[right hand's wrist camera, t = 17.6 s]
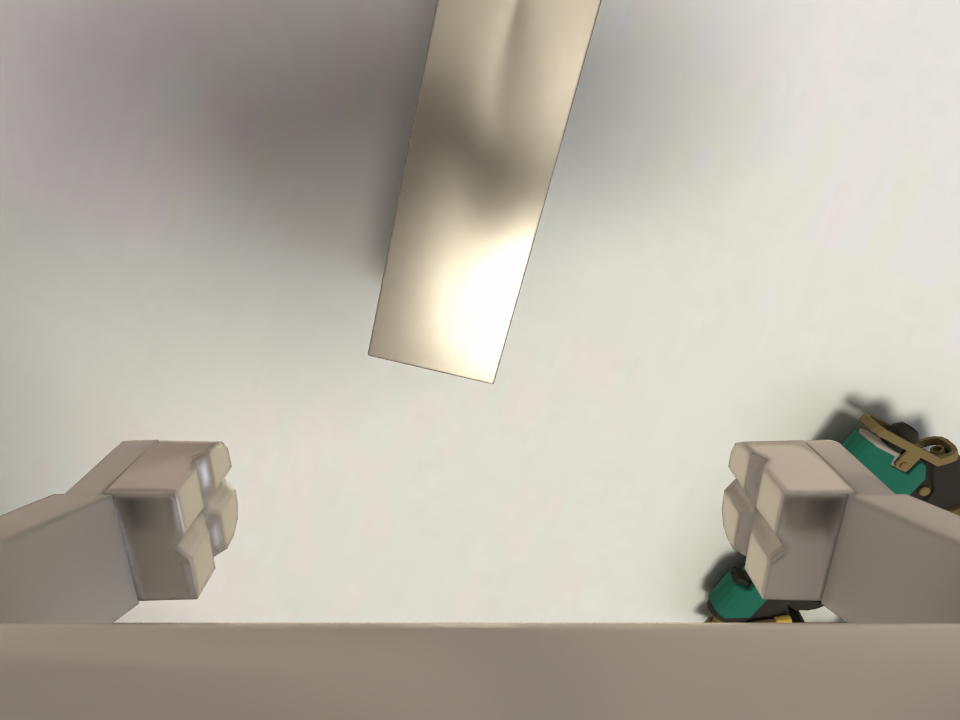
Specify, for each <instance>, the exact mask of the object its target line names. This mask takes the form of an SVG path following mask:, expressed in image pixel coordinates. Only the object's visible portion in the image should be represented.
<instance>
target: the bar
mask: <svg viewBox="0 0 960 720" xmlns="http://www.w3.org/2000/svg"><path fill="white" fill-rule="evenodd" d="M601 1H602V0H437V5H436V10H435V15H434V20H433V25H432V31H431V36H430V41H429V46H428V51H427V56H426V61H425V66H424V71H423V76H422V81H421V86H420V91H419V97H418V102H417V107H416V112H415V117H414V122H413V127H412V132H411V137H410V142H409V147H408V152H407V158H406V163H405V168H404V173H403V178H402V183H401V188H400V193H399V198H398V203H397V208H396V213H395V219H394V224H393V229H392V234H391V239H390V244H389V249H388V254H387V259H386V264H385V269H384V274H383V279H382V285H381V290H380V295H379V300H378V305H377V310H376V315H375V320H374V325H373V330H372V335H371V340H370V346H369V351H368V355H369V356H373V357H378V358H382V359H386V360H391V361H395V362H399V363H404V364H408V365H412V366H417V367H421V368H425V369H430V370H434V371H438V372H443V373H447V374H451V375H456V376H460V377H464V378H469V379H473V380H477V381H482V382H486V383H490V384H493V383H494V381H495V377H496V374H497V370H498V367H499V363H500V360H501V356H502V353H503V349H504V345H505V342H506V338H507V335H508V331H509V328H510V324H511V321H512V317H513V313H514V310H515V306H516V303H517V299H518V296H519V292H520V289H521V285H522V281H523V278H524V274H525V271H526V267H527V264H528V260H529V257H530V253H531V249H532V246H533V242H534V239H535V235H536V232H537V228H538V225H539V221H540V217H541V214H542V210H543V207H544V203H545V200H546V196H547V193H548V189H549V185H550V182H551V178H552V175H553V171H554V168H555V164H556V161H557V157H558V153H559V150H560V146H561V143H562V139H563V136H564V132H565V129H566V125H567V121H568V118H569V114H570V111H571V107H572V104H573V100H574V97H575V93H576V89H577V86H578V82H579V79H580V75H581V72H582V68H583V65H584V61H585V57H586V54H587V50H588V47H589V43H590V40H591V36H592V33H593V29H594V25H595V22H596V18H597V15H598V11H599V8H600V4H601Z"/></svg>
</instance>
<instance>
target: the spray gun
mask: <svg viewBox="0 0 960 720" xmlns="http://www.w3.org/2000/svg"><path fill="white" fill-rule="evenodd" d="M860 421H861V422H862V423H863V424H864V425H865V426H866V427H867V428H868V429H869V430H871V431H872V432H874V433H875V434H876V435H875V434H873V433H871V432H869V431H867V430H865V429H859V430H857V429H854V430H853V431H852V433H851V434H850V435H849V436H848V437H847V438H846V439H845V441H844V442H843V443H842V444H841V445H842V446H843V447H844V448H845V449H846V450H848V451H849V452H850V453H851V454H852V455H853V456H854V457H855V458H856V459H857V460H859V461H860V462H861V463H862V464H863V465H864V466H865V467H866V468H867V469H868V470H870V471H871V472H872V473H873V474H874V475H875V476H876V477H877V478H878V479H879V480H880V481H882V482H883V483H884V484H885V485H886V486H887V487H888V488H889V489H890V490H891V491H893V492H894V493H895V494H907V495H909V496H912V497H914V498H917V499H919V500H922V501H924V502H927V503H929V504H932V505H934V506H936V507H939V508H941V509H944V510H946V511H949V512H951V513H954V514H956V515H959V516H960V455H959V454H958V450H957V448H956V446H955V445H954V444H953V443H951V442H950V441H949V440H948V439H946V438H943V437H937V436H933V437H927V438H924V439H921V440H919V438H918V432H917V431H916V430H915V429H914V428H912V427H911V426H909V425H907V424H906V423H904V422H900V423H895V424H892V425H890V424H888V423H886V422H884V421H882V420H880V419H878V418H876V417H874V416H872V415H870V414H868V413H865V414H864V415H863V416H862V417H861V418H860ZM877 435H878V436H877ZM930 445H936V446H933V447H931V448H930V451H931V452H928V451H926V450H924V449H922V448H923V447H926V446H930ZM940 445H941V446H940ZM942 446H943V447H942ZM709 597H710V600H709V601H708V607H709V609H710V611H711V613H712V615H713V617H709V618H708V619H707V620H706V621H705V622H704V623H805V622H804V620H803V618H802V616H801V614H800V612H799V610H812V609H816V608H820V607H822V606H824V605H823V604H821V601H812V600H775V599H762V597H761V595H760V593H759V592H758V590H757V588H756V587H755V585H754V583H753V582H752V580H751V578H750V577H749V575H748V573H747V571H746V570H745V565H744V566H743V568H742V569H741V570H740V569H738V568H735V567H734V568H733V569H731V570H729V571H728V572H727V573H726V575H725V576H724V577H723V578H722V579H721V580H720V581H719V583H718V584H717V585H716V586H715V587H714V588H713V589H712V591H711V592H710V593H709Z"/></svg>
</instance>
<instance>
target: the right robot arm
mask: <svg viewBox="0 0 960 720" xmlns="http://www.w3.org/2000/svg"><path fill="white" fill-rule="evenodd" d="M231 467H232V466H231V461H230V456H229V451H228V448H227V447H226V446H225V444H224V443H223V442H213V441H159V440H134V441H123V442H121V443H120V444H119V445H118V446H117V447H116V448H115V449H114V450H113V451H112V452H110V453H109V454H108V455H107V456H106V457H105V458H104V459H103V460H102V461H101V462H99V463H98V464H97V465H96V466H95V467H94V468H93V469H92V470H91V471H90V472H88V473H87V474H86V475H85V476H84V477H83V478H82V479H81V480H80V481H79V482H77V483H76V484H75V485H74V486H73V487H72V488H71V489H70V490H69V491H67V492H66V493H65V494H53V495H51V496H48V497H46V498H43V499H41V500H38V501H36V502H33V503H31V504H28V505H26V506H23V507H21V508H18V509H16V510H13V511H11V512H9V513H6V514H4V515H1V516H0V720H960V516H959V515H956V514H954V513H951V512H949V511H946V510H944V509H941V508H939V507H936V506H934V505H932V504H929V503H927V502H924V501H922V500H919V499H917V498H914V497H912V496H909V495H907V494H895V493H894V492H893V491H891V490H890V489H889V488H888V487H887V486H886V485H885V484H884V483H883V482H882V481H880V480H879V479H878V478H877V477H876V476H875V475H874V474H873V473H872V472H871V471H870V470H868V469H867V468H866V467H865V466H864V465H863V464H862V463H861V462H860V461H859V460H857V459H856V458H855V457H854V456H853V455H852V454H851V453H850V452H849V451H848V450H846V449H845V448H844V447H843V446H842V445H841V444H840V443H839V442H836V441H833V440H812V441H804V440H799V441H758V442H739V443H735V445H734V447H733V449H732V451H731V455H730V460H729V466H728V467H729V468H730V470H731V471H732V473H733V475H734V476H735V478H736V479H735V480H734V481H733V482H732V483H731V484H730V485H729V486H728V487H727V488H726V489H725V490H724V497H723V504H722V515H723V526H724V529H725V532H726V535H727V538H728V540H729V542H730V544H731V545H732V547H733V549H735V550H736V551H738V552H739V553H741V554H743V555H744V556H746V557H747V558H746V563H745V570H746V571H747V573H748V575H749V577H750V578H751V580H752V582H753V583H754V585H755V587H756V588H757V590H758V592H759V593H760V595H761V597H762V599H775V600H812V601H821V604H823V605H824V606H825V607H827V608H828V609H829V610H831V611H832V612H834V613H835V614H836V615H838V616H839V617H840V618H842V619H843V620H844V621H846V622H847V623H113V622H115V621H116V620H117V619H119V618H120V617H121V616H123V615H124V614H125V613H127V612H128V611H129V610H131V609H132V608H133V607H135V606H136V605H137V604H139V602H138V601H148V600H184V599H198V597H199V595H200V594H201V592H202V590H203V588H204V587H205V585H206V583H207V582H208V580H209V578H210V577H211V575H212V573H213V571H214V570H215V563H214V558H213V557H214V556H216V555H217V554H219V553H221V552H222V551H224V550H225V549H227V547H228V545H229V544H230V542H231V540H232V538H233V536H234V532H235V528H236V524H237V519H238V502H237V496H236V490H235V489H234V488H233V487H232V486H231V485H230V484H229V483H228V482H227V481H226V480H225V479H224V478H225V476H226V475H227V473H228V471H229V470H230V468H231Z"/></svg>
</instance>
